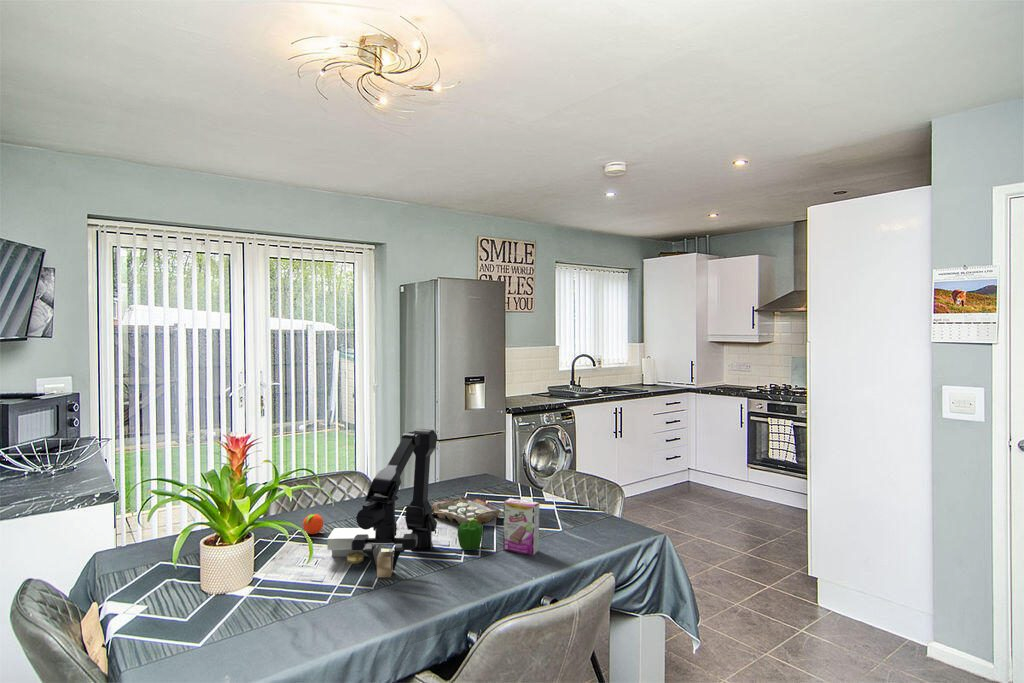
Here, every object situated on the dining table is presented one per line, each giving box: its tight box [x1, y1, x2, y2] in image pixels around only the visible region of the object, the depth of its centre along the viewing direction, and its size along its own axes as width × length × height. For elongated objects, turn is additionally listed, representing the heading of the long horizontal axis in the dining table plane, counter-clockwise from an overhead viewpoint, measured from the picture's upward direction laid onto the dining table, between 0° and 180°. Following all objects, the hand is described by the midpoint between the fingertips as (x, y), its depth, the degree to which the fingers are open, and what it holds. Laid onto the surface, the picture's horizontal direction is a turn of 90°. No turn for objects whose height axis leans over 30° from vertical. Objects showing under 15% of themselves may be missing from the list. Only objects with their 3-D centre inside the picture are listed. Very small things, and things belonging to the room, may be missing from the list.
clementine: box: [302, 513, 324, 535], centre depth 201 cm, size 8×7×7 cm
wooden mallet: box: [376, 548, 394, 578], centre depth 174 cm, size 4×15×6 cm, turn 3°
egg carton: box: [431, 496, 504, 525], centre depth 221 cm, size 30×22×5 cm
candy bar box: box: [502, 497, 540, 556], centre depth 187 cm, size 11×5×16 cm, turn 65°
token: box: [346, 552, 364, 565], centre depth 179 cm, size 5×5×2 cm
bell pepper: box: [457, 519, 484, 551], centre depth 190 cm, size 8×8×10 cm
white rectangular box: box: [326, 527, 382, 558], centre depth 181 cm, size 15×9×8 cm, turn 94°
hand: (385, 570), depth 169 cm, fingers open, 5 cm apart
